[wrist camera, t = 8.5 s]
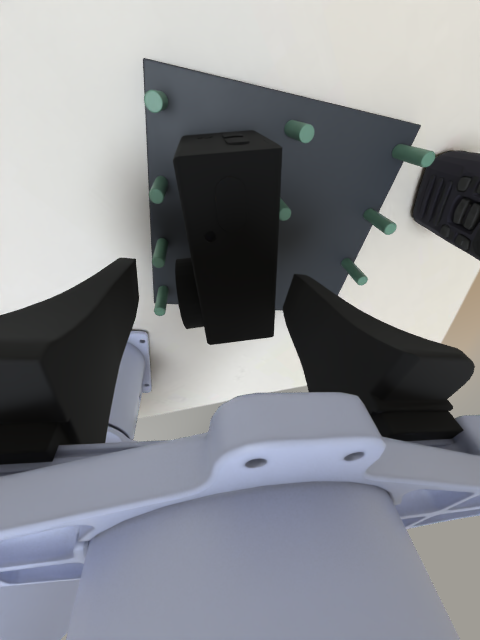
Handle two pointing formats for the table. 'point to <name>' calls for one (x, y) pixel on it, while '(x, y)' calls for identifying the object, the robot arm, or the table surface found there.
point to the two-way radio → (452, 200)
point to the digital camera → (229, 233)
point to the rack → (296, 174)
